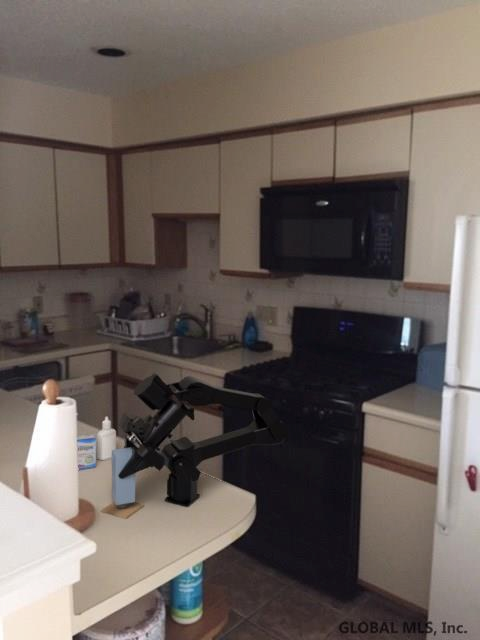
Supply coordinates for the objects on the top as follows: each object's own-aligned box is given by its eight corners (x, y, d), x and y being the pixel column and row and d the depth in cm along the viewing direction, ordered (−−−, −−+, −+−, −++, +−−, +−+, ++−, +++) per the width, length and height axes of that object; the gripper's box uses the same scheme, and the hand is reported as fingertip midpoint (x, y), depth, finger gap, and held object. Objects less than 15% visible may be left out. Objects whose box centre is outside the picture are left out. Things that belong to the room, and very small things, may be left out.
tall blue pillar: (130, 493, 135) (130, 447, 133) (135, 501, 131) (135, 454, 129) (111, 496, 133) (111, 449, 131) (116, 505, 129) (115, 456, 127)
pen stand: (144, 506, 134) (144, 486, 133) (126, 519, 127) (126, 498, 127) (119, 499, 137) (119, 479, 136) (101, 511, 130) (101, 491, 130)
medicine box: (66, 472, 151) (66, 441, 150) (63, 466, 155) (63, 435, 154) (96, 468, 155) (96, 437, 153) (92, 462, 158) (92, 432, 157)
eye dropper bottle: (118, 458, 161) (118, 418, 159) (97, 461, 159) (97, 420, 157) (114, 453, 165) (115, 413, 163) (95, 455, 163) (95, 415, 161)
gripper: (130, 390, 138) (84, 438, 135) (151, 412, 121) (99, 468, 119) (161, 417, 143) (117, 465, 140) (186, 443, 126) (136, 498, 123)
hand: (117, 473), depth 130 cm, fingers closed on tall blue pillar, 4 cm apart
